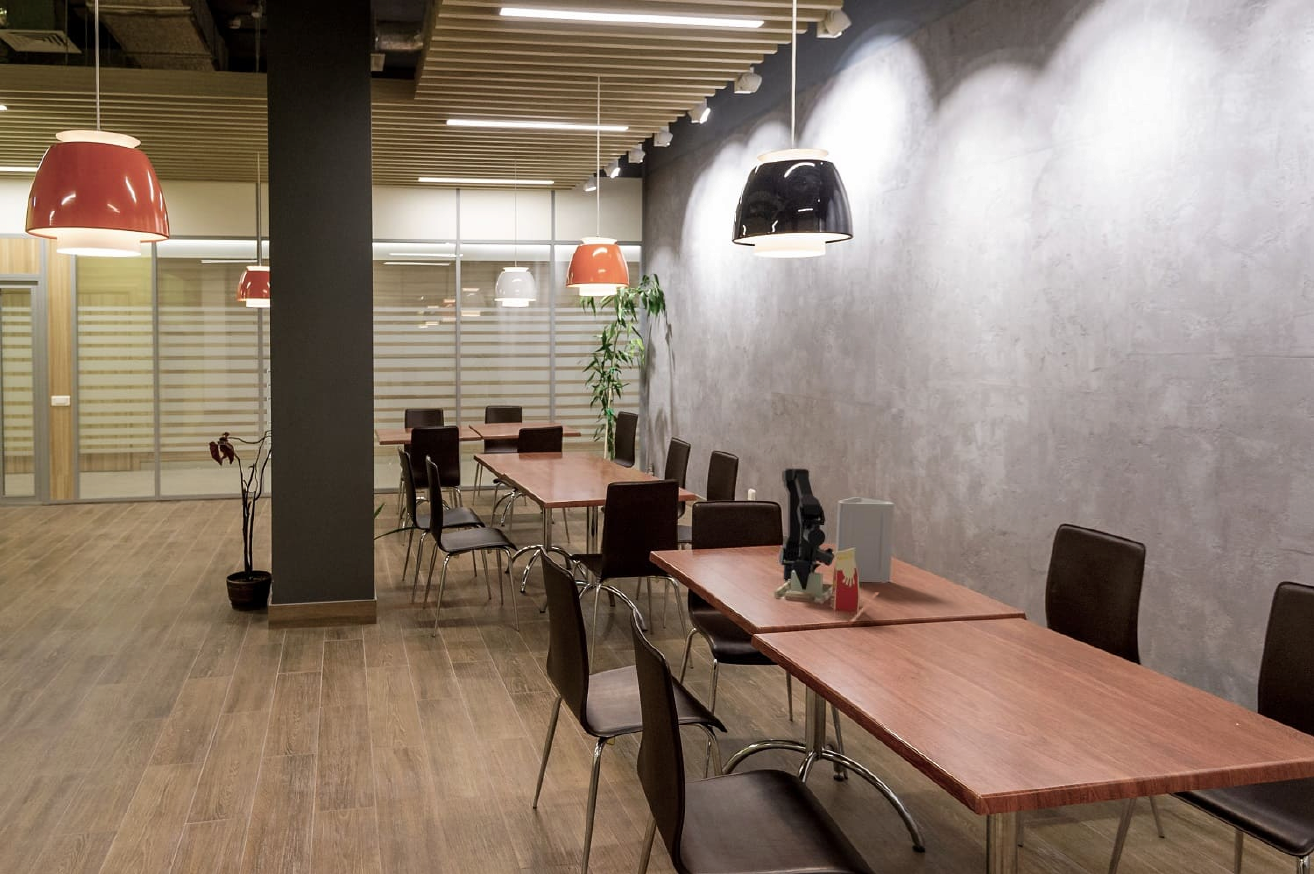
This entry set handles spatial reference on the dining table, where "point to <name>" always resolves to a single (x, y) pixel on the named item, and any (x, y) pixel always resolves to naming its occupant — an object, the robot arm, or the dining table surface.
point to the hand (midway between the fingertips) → (806, 587)
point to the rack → (818, 599)
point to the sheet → (808, 583)
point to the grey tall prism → (867, 536)
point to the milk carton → (845, 582)
